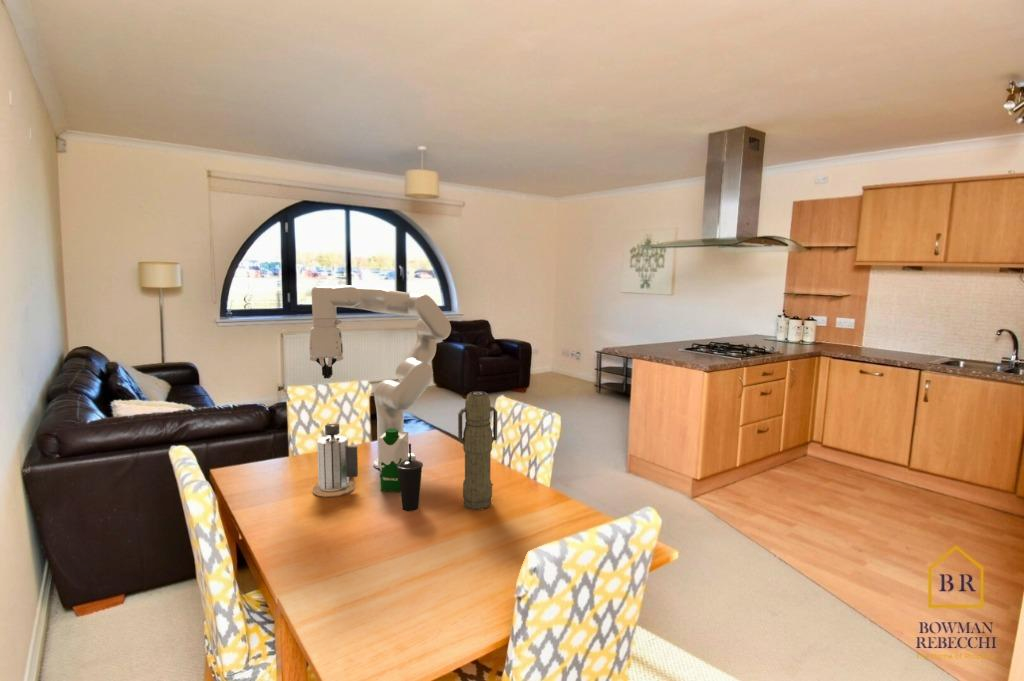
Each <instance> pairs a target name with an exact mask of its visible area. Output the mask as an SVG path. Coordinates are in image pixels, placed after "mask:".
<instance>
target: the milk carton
mask: <svg viewBox="0 0 1024 681" xmlns="http://www.w3.org/2000/svg"><path fill="white" fill-rule="evenodd" d="M409 434H410V432H408V431H404V432H398V430H397V429H388V430H386V433H384V434H383V435H382V436H381V437H379V446H380V469H379V474H380V475H379V479H380V480H379V481H380V491H381V492H394V493H395V492H396V493H397V492H398V493H401V491H400V482H399V472H398V468H397V464H398V463H400V462H403V461H405V460H408V454H409Z"/></svg>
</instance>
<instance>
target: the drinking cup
mask: <svg viewBox="0 0 1024 681" xmlns="http://www.w3.org/2000/svg"><path fill="white" fill-rule="evenodd" d="M408 454H409V460H405V461H403V462H400V463H398V464H397V468H398V472H399V482H400V491H401V492H400V501H401V509H402V511H404V512H415V511H417V510H418V509H419V507H420V506H419V505H420V495H421V494H420V493H421V482H422V474H423V473H422V472H423V471H422V470H423V467H424V464H423V463H424V462H422V461H420V460H416V459H415V460H411V454H412V444H411V443H408Z"/></svg>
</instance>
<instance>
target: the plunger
mask: <svg viewBox="0 0 1024 681" xmlns="http://www.w3.org/2000/svg"><path fill="white" fill-rule="evenodd" d="M340 431H341V430H340V424H339V423H328V424H324V433H325V434H324V435H326V436H331V442H333V441H335V437H334V435H340Z"/></svg>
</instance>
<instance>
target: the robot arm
mask: <svg viewBox="0 0 1024 681" xmlns="http://www.w3.org/2000/svg"><path fill="white" fill-rule="evenodd" d="M337 308H346V309H348V308H349V309H358V310H365V311H370V312H373V313H382V314H391V315H401V316H406V317H418V320H417V321H416V324H415V333H416V341H415V344H414V346H413V347H412V349H411V350H410V351H409V352H408V353H407V355H406V356H405V357H404V358H403V359H402V360H401V361H400V363H399V364H398V365H397V367H396V369H395V376H396V379H397V380H399V381H400V382H399V381H396V380H393V379H385V380H382V381H379V383H378V384H377V385H376V387H375V389H374V391H373V392H374V394H373V397H374V402H375V403H374V404H375V409H376V419H377V420H376V421H377V422H376V423H377V424H376V426H377V428H376V433H377V434H376V436H377V438H376V439H377V443H376V444H377V458H376V459H375V460H373V466H374V467H375V468H376V469H378V470H380V446H379V437H381V436H382V435H383V434H384V433H386V430H388V429H397V430H398V432H405V431H404V428H405V427H404V424H405V423H404V422H405V421H404V412H403V411H406V410H408V409H410V408H411V407H412V406H413V405H414V404H415V403H416V402H417V401H418V399H419V398H420V397H421V396H422V395H423V393H424V392H425V391H426V390H427V388H428V387H429V386H430V385H431V382H432V380H433V377H434V371H433V368H432V366H431V365H430V363H431V362H432V361H433V359H434V358H435V355H436V352H437V341H442V340H446V339H447V338H448V337H449V336H450V334H451V333H452V332H451V331H452V326H451V323H450V321H449V319H448V318H447V316H446V315H445V313H444V312H443V311H442V309H441V308H440V307H439V305H438V304H437V303H436V301H435V300H434V299H433V298H432V297H431V296H429V295H428V294H425V293H414V292H405V291H398V290H392V289H387V288H362V287H356V286H353V285H346V284H336V285H333V286H329V285H327V286H326V285H325V286H324V285H320V286H318V285H317V286H314V287H312V288H311V311H312V312H311V313H312V327H311V328H310V335H309V360H310V361H311V362H316V363H318V365H319V366H320V367H321V376H323V379H330V378H332V376H333V375H334V374H333V365H334V364H335V363H336V362H340V361H342V360H343V359H344V355H343V354H344V344H343V343H344V342H343V337H342V331H341V327H339V326H338V325H342V320H341V319H338V317H337V314H338V313H337ZM326 358H327V359H328V360H326ZM343 361H344V360H343ZM416 459H417V458H416V454H414V453H411V460H416ZM408 460H409V453H408Z"/></svg>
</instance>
